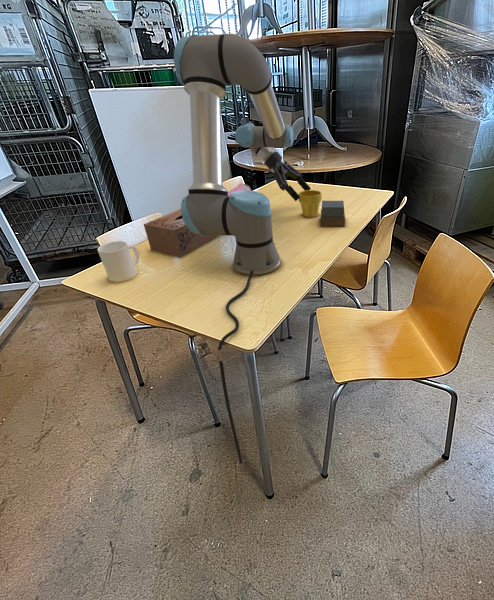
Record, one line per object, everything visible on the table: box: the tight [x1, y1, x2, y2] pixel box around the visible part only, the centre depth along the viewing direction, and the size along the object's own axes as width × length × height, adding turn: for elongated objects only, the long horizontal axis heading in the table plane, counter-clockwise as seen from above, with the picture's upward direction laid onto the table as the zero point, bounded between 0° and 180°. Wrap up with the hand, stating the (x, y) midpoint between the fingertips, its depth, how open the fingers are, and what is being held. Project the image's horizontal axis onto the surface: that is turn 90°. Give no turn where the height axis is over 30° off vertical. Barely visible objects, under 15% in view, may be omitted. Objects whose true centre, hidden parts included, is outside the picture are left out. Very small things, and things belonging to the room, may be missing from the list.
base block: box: [319, 209, 346, 228], centre depth 141 cm, size 10×10×4 cm
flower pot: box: [297, 189, 323, 218], centre depth 149 cm, size 10×10×10 cm
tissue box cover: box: [143, 208, 221, 258], centre depth 127 cm, size 26×14×10 cm, turn 154°
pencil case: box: [228, 182, 252, 197], centre depth 162 cm, size 21×9×9 cm, turn 162°
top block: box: [321, 200, 345, 217], centre depth 139 cm, size 9×9×4 cm
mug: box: [97, 240, 140, 283], centre depth 105 cm, size 12×8×10 cm
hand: (303, 194), depth 148 cm, fingers open, 13 cm apart
